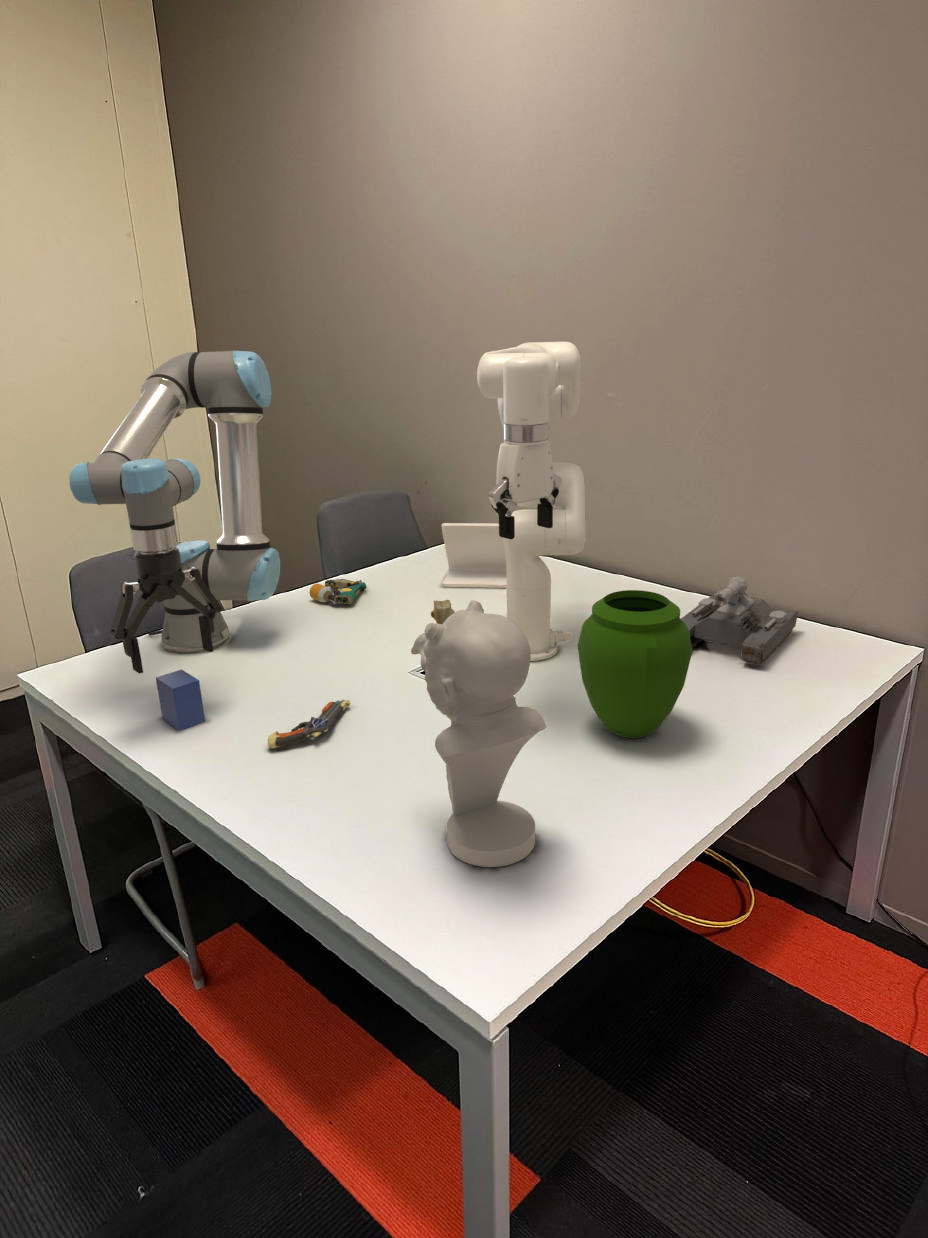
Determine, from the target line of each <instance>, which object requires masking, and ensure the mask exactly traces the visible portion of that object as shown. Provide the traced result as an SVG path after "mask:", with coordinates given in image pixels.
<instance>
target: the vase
mask: <svg viewBox="0 0 928 1238" xmlns="http://www.w3.org/2000/svg"><path fill="white" fill-rule="evenodd" d="M681 618H682V617H681V609H680V607H679V606H678V605H677V604H676V603H674V602H673V601H672V600H670V599H669V598H667V596H664V595H663V594H660V593H657V592H653V591H648V590H642V589H641V590H638V589H628V590H619V591H613V592H611V593H609V594H606V595H605V596H603V597H602V598H600V599H599V600H597V601H595V602H594V603H593V604H592V607H591V614H590V615H589V616H588V617H587V619H586V620H584V621H583V623H582V626H581V628H580V632H579V637H578V640H577V645H576V646H577V653H578V660H579V668H580V675H581V680H582V684H583V686H584V689H585V692H586V696H587V697H588V700H589V704H590V706H591V707H592V710H593V711H594V712H595V714H596V716H597V718H598V719H599V721H600V722H601V723H602V725H603V726H604V727H605V728H606V729H607V730H608V731H609V732H610V733H612V734H614V735H616V736H618V737H619V736H620V737H623V738H628V739H636V738H637V739H638V738H643V737H648V736H649V735H651V734H653V733H654V732H655V731H657V729H659V728H660V727H661V726H662V725H663V723H664V722H665V721H666V719H668V717H669V716H670V714H671V713H672V711H673V709H674V708H675V705H676V703H677V701H678V699H679V697H680V695H681V693H682V691H683V688H684V686H685V684H686V679H687V676H688V670H689V666H690V663H691V659H692V655H693V648H692V647H691V640H690V634H689V629H688V627H687V626H686V624H685V623H684V622H683V621H682V620H681Z"/></svg>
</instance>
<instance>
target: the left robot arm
mask: <svg viewBox="0 0 928 1238" xmlns="http://www.w3.org/2000/svg"><path fill="white" fill-rule="evenodd" d="M272 395H273V392H272V384H271V378H270V373H269V371H268V369H267V366H266V364H265V362H264V361H263V359H262V357H261V356H260V355H259V354H258V353H256V352H254V351H249V350H247V351H246V350H224V351H223V350H221V351H220V350H219V351H189V352H185V353H181V354H178V355H176V356H174V357H172V358H170V359H169V360H167V361H165V362H164V363H162V364H161V365H159V366H158V367H157V368H156V369H155V370H154V371H152V372H151V373H150V375H149V376H148V377H147V378H146V379H145V381H144V382H143V383H142V385H141V387H140V396H139V397H138V399H137V401H136V403H135V404H134V405H133V406H132V408H131V410H130V411H129V412H128V414H126V416H125V418H124V419H123V421H122V422H121V423H120V425H119V426H118V428H117V429H116V430H115V432H114V433H113V435H112V436H111V437H110V439H109V440H108V442H107V443H106V445H104V447H103V449H102V451H101V452H100V453H99V455H98V456H97V457H96V459H95V460H94V461H93V462H90V461H86V462H82V463H77V464H75V465H74V466H73V467H72V468H71V470H70V473H69V479H68V480H69V481H68V482H69V483H68V485H69V489H70V491H71V493H72V496H73V497H74V499H76V501H77V502H79V503H81V504H84V505H85V504H88V505H98V506H101V505H125V507H126V512H127V518H128V522H129V530H130V531H129V532H130V536H131V543H132V548H133V550H134V551H135V553H134V560H135V566H136V572H137V577H138V578H137V581H136V582H127V581H122V582H121V583H120V594H121V595H120V597H119V600H118V604H117V606H116V607H117V608H116V611H115V614H114V617H113V620H112V624H111V626H110V630H109V636H111V637H112V638H113V639H115V640H118V641H119V640H122V646H123V651H124V654H125V655H126V656H127V657H128V658H130V660H131V665H132V670H133V671H134V672H136V673H137V674H139V675H140V674H144V667H143V662H142V657H141V650H140V644H139V639H138V638H137V637H135V634H136V632H137V631H138V629H139V627H140V626H141V624H142V622H143V621H144V619H145V617H146V616H147V613H148V612H149V610H150V609H151V608H152V607H153V606H154V604H155V603H161V602H162V603H163V607H164V612H165V613H164V620H163V625H162V629H159V630H155V631H150V632H148V634H147V635H148V636H150V637H151V636H155V635H161V638H160V642H161V646H162V648H163V649H164V650H165V651H167V652H170V653H174V654H196V653H202V652H208V653H213V652H214V649H217V648H219V647H221V646H223V645H225V644H226V643H227V642H228V641H229V640H230V638H231V633H230V629H229V626H228V624H227V622H226V620H225V618H224V616H223V614H222V610H223V607H222V606H221V604H220V603H219V602H218V601H248V602H255V601H266V600H269V599H270V598H272V596H273V595H274V593H275V592H276V591H277V590H276V589H277V587H278V585H279V580H280V574H281V557H280V553H279V551H278V550H277V549H275V548H274V547H271V540H270V538H268V536H267V535H265V534H264V532H263V516H262V515H263V514H262V501H261V499H262V498H261V482H260V481H261V480H260V478H261V477H260V463H259V443H258V441H259V440H258V427H257V424H258V423H259V421H260V420H261V419H262V418H263V417H264V408H267V407H269V406H270V404H271V403H272ZM195 408H196V409H197V408H201V409H204V408H207V417H209V418H210V419H211V420H212V422H214V424H215V429H216V445H217V462H218V477H219V493H220V510H221V524H222V525H221V526H222V534H221V536H220V537H219V538H218V539H217V540H216V548H211V544H210V543H209V541H207V540H201V539H200V540H190V541H185V542H181V543H180V542H179V538H178V533H177V526H176V521H175V514H174V513H175V512H174V507H175V506H176V505H178V504H181V503H183V502H186V501H189V499H191V498H192V497H193V496H194V495H195V494H196V493H197V492H198V491H199V489H200V486H201V474H200V472H199V470H198V468H197V466H196V465H194V463H192V462H191V461H190V460H187V459H184V458H172V459H171V458H170V459H168V460H166V461H164V460H163V459H160V458H149V457H150V456H151V454H152V453H153V452H154V450H155V448H156V447H157V445H158V443H159V442H160V441H161V439H162V437H163V436H164V434H165V433H166V431H167V429H168V428H169V426H170V425H171V423H172V421H173V420H174V419H177V418H179V417H181V416H182V415H183V414H184V413H185V411H186V410H189V409H195ZM138 590H139V591H140V592H141V594H140V595H139V597H138V599H137V600H138V602H137V603H136V605H135V607H134V609H133V610H132V612H131V608H132V606H133V602H134V596H135V595H137V591H138ZM130 612H131V614H130Z"/></svg>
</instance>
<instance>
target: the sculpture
mask: <svg viewBox="0 0 928 1238" xmlns="http://www.w3.org/2000/svg"><path fill="white" fill-rule="evenodd" d="M455 612H456V611H455V609H453V608H452V602H451V601H450V599H445V600H433V610H431V612H430V617H431V618H432V619H433V620H434V621H435V622H436V623H435V624H443V623H444V622H445V620H446V619H447V618H448V617H450V616H451V615H452V614H453V613H455Z"/></svg>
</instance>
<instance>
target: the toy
mask: <svg viewBox="0 0 928 1238" xmlns="http://www.w3.org/2000/svg"><path fill="white" fill-rule="evenodd" d="M747 590H748V581H747V580H746V579H745V578H744V577H742V576H733V577H731V578H730V579H729V580H728V582H727V585H726V587H724V588H723V589H722V590H721V591H719V590H717V591H716V592H715V594H713V595H710V596H708V598H703V599H701V600H700V601H698V604H697V605H696V607H694V608H693V609H691V610H690V611H689V612H688V613H686V614H685V615H684V616H682V617H680V618H681V620H682V621H683V622H684V623H685V624H686V626H687V627H688V629H689V634H690V640H691V647H692V649H693V648H695V646H697V645H698V644H700V642H701V641H705V642H708V643H714V644H720V645H724V646H729V647H733V648H737V649H738V648H739V649H741V653H740V660H742V661H743V662H747V663H752V664H756V665H761V666H762V665H763V664H764V663H765V662H766V661H767V660H768V658H769V657H771V656H772V655H773V653H774V652H775V651H776V650H777V649H779V647H780V646H781V645H783V643H784V642H785V641H786V640H787V639H788V638H789V637H790V636H791V635H792V633H793V630H794V628H796V625H797V620H798V615H799V611H798V610H793V609H787V608H781V607H778V608H776V609H775V610H774V609H773V608H772V607H771V606H770V605H769V604H768V603H767V602H766V601H765V600H764V599H763V598H758V597H753V596H750V595H748V593H746V592H747Z"/></svg>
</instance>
